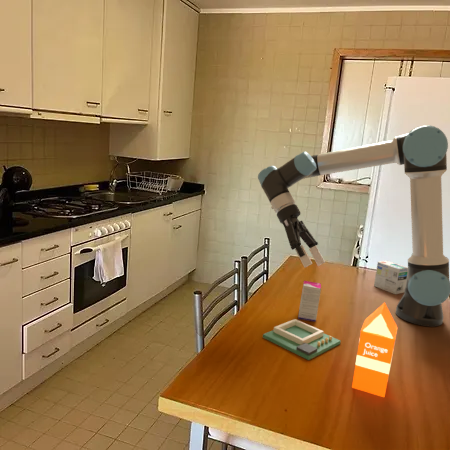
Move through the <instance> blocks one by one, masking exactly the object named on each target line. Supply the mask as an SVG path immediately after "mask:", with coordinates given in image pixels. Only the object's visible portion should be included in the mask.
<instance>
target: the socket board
mask: <svg viewBox="0 0 450 450" xmlns="http://www.w3.org/2000/svg"><path fill="white" fill-rule="evenodd" d="M262 338H263V339H265V340H266V341H268V342H271V343H273V344H274V345H278V346H279V347H280V348H283V349H285V350H287V351H288V352H289V351H290V353H293V354H296V355H297V356H299V357H301V358H303V359H306V360H307V361H310V360H312V359H313V358H316V357H318V356H320V355H322V354H323V353H325V352H327V351H329V350H332V349H333V348H335V347H336V346H339V345H341V341H342V340H340V339H339V338H336V337H333V336H332V335H329V334H326V333H325V332H324V330H322V329H319V328H317V327H316V326H312V325H310V324H308V323H305V322H303V321H301V320H300V319H296V318H293V319H292V320H291V319H290V320H288V321H287V322H284V323H281V324H279V325H275V326H273V329H272V330H271V331H267V332H265V333H263V334H262Z"/></svg>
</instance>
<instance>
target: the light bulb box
mask: <svg viewBox="0 0 450 450" xmlns="http://www.w3.org/2000/svg"><path fill="white" fill-rule="evenodd" d="M407 276H408V266H405V265H401V264H398V263H395V262H392V261H391V260H390V261H389V260H381V261H377V264H376V271H375V277H374V283H373V287H375V288H378V289H380V290H383V291H385V292H387V293H391V294H394V295H398V294H404V293H405V288H406V282H407Z"/></svg>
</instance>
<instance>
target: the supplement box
mask: <svg viewBox="0 0 450 450" xmlns="http://www.w3.org/2000/svg"><path fill="white" fill-rule="evenodd" d="M321 292H322V284H321V283H319V282H313V281H307V280H304V281H303V284H302V290H301V297H300V302H299V309H298V315H297V316H298V317H297V318H298V319H297V320H302V321H310V322H316V321H317V316H318V311H319V306H320V305H319V304H320V298H321Z"/></svg>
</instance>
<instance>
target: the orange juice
mask: <svg viewBox="0 0 450 450" xmlns="http://www.w3.org/2000/svg"><path fill="white" fill-rule="evenodd" d="M397 333H398V325H397V323H396V321H395V320H394V317H393V316H392V314H391V312H390V310H389V307H388V306H387V304H386V302H385V301H384V302H383V303H382V304H381V305H379V307H377V308H376V309H375V310H374V311H373V312H372V313H370V315H368V316H367V317H366V318H365V319H364V321H363V324H362V327H361V329H360V335H359V338H358V339H359V340H358V346H357V353H356V359H355V365H354V372H353V379H352V385H351V388H352V389H355V390H358V391H361V392H366V393H368V394H370V395H371V394H372V395H374V396H378V397H382V398H385V396H386V391H387V388H388V387H387V386H388V381H389V376H390V371H391V366H392V360H393V354H394V349H395V344H396V339H397Z"/></svg>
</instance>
